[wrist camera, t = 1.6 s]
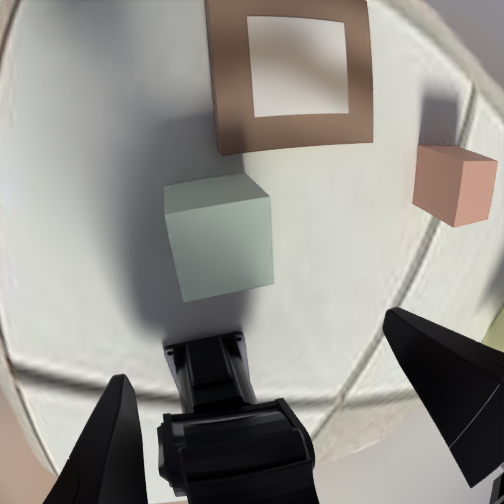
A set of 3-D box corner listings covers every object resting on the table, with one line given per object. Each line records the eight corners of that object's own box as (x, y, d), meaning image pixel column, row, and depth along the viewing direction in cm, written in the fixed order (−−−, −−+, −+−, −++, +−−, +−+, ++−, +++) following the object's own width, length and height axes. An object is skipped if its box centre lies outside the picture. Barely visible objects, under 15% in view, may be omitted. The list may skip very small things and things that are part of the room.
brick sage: (250, 244, 22) (274, 283, 17) (177, 257, 21) (183, 302, 16) (244, 172, 19) (269, 196, 15) (163, 185, 18) (164, 214, 14)
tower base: (363, 139, 20) (373, 143, 19) (218, 152, 18) (222, 156, 17) (356, 4, 15) (367, 0, 14) (204, -6, 13) (207, -13, 12)
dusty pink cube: (448, 198, 25) (487, 219, 21) (411, 203, 24) (453, 227, 20) (454, 145, 22) (497, 161, 18) (417, 145, 21) (463, 161, 17)
